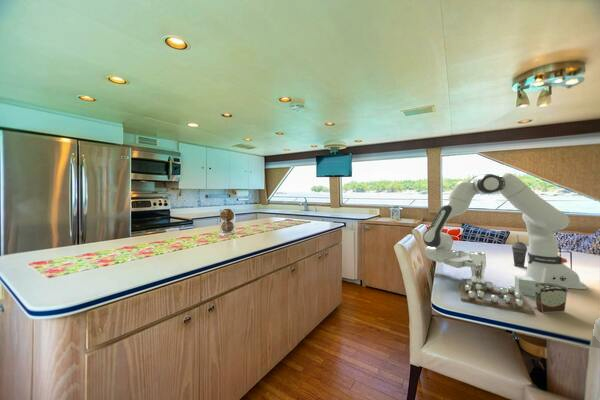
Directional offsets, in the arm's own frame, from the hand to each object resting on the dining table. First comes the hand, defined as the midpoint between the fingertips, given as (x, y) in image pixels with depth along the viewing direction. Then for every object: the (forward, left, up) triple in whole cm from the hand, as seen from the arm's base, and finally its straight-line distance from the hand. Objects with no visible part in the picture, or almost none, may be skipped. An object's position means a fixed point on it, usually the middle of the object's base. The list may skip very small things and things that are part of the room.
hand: (479, 264), depth 126 cm
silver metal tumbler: (+1, 0, -9) cm, 10 cm away
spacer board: (-3, +17, -11) cm, 20 cm away
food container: (-21, +17, -11) cm, 29 cm away
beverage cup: (-24, -48, -11) cm, 55 cm away
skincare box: (-17, +2, -11) cm, 21 cm away
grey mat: (+1, 0, -11) cm, 11 cm away
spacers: (-3, +17, -11) cm, 20 cm away
